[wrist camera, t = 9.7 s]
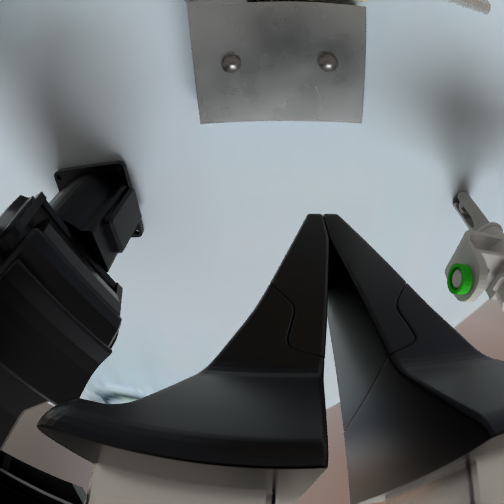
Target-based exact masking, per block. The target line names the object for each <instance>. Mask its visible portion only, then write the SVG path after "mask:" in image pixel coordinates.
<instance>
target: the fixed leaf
mask: <svg viewBox="0 0 504 504" xmlns="http://www.w3.org/2000/svg"><path fill="white" fill-rule="evenodd" d="M185 1H186V2H187V5H188V16H189V26H190V36H191V46H192V55H193V64H194V73H195V82H196V90H197V99H198V107H199V115H200V123H201V124H207V123H223V122H245V121H327V122H348V123H362V113H363V99H364V81H365V57H366V7H364V6H355V5H346V4H335V3H321V2H292V1H276V2H250V1H249V0H185ZM444 1H448V2H451V3H454V4H457V5H460V6H463V7H466V8H469V9H472V10H475V11H478V12H480V13H483V14H488V13H489V12H490V3H489V1H488V0H444Z"/></svg>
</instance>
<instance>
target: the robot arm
mask: <svg viewBox="0 0 504 504" xmlns="http://www.w3.org/2000/svg"><path fill="white" fill-rule="evenodd" d="M117 167H120V168H121V170H118V169H117ZM60 175H61V177H62V178H61V177H60ZM54 177H55V180H56V183H57V186H58V189H59V191H60V192H59V193H58V194H57V195H56V196H55V197H54V198H53V199H52V200H51V202H50V203H48V202H47V200H46V196H45V195H44V194H43V192H40V193H39V194H38V195H37V196H35V197H33V196H32V197H31V198H30V197H29V198H27V197H24V196H22V195H20V196H19V197H18V198H17V199H16V200H15V201H14V202H13V203H12V204H11V205H10V206H9V207H8V208H7V209H6V210H5V211H4V213H3V214H2V215H1V216H0V504H294V503H295V502H296V501H297V500H298V499H299V498H300V497H301V496H302V495H303V494H304V493H305V492H306V491H307V490H308V489H309V487H310V486H311V485H312V484H313V483H314V482H315V481H316V480H317V479H318V478H319V477H320V475H321V474H322V473H323V472H324V471H325V470H326V469H327V467H328V436H327V421H326V407H325V394H324V358H325V345H326V329H327V317H328V323H329V329H330V335H331V341H332V347H333V354H334V360H335V367H336V374H337V381H338V388H339V396H340V403H341V411H342V419H343V428H344V431H345V432H344V438H345V447H346V456H347V465H348V466H347V467H348V477H349V490H350V502H351V504H369V503H375V502H382V501H385V504H504V361H501V360H496V359H492V358H490V357H487V356H486V355H484V354H482V353H481V352H479V351H478V350H476V349H475V348H474V347H473V346H472V345H471V344H470V343H468V342H467V341H466V340H465V339H464V338H463V337H462V336H461V335H460V334H459V333H458V332H457V331H456V330H455V329H454V328H453V327H452V326H450V325H449V324H448V323H447V322H446V321H445V320H444V319H443V318H442V317H441V316H440V315H439V314H437V313H436V312H435V311H434V310H433V309H432V308H431V307H430V306H429V305H428V304H427V303H426V302H425V301H424V300H423V299H422V298H421V297H420V296H419V295H418V294H417V293H416V292H415V291H414V290H413V289H412V288H411V287H410V286H409V284H407V283H406V282H405V280H404V279H403V278H402V277H401V276H400V275H399V274H398V273H397V272H396V271H395V270H394V269H393V268H392V267H391V266H390V265H389V264H388V263H387V262H386V261H385V260H384V259H383V258H382V257H381V256H380V255H379V254H378V253H377V252H376V251H375V250H374V249H373V248H372V247H371V246H370V245H369V244H368V243H367V242H366V241H365V240H364V239H363V238H362V237H361V236H360V235H359V234H358V233H357V232H356V231H355V230H354V229H353V228H351V227H350V226H349V225H348V224H347V223H346V222H345V221H344V220H343V219H342V218H341V217H340V216H339V215H337V214H324V215H323V216H322V214H308V215H307V217H306V218H305V220H304V222H303V224H302V226H301V228H300V230H299V231H298V233H297V235H296V237H295V239H294V241H293V243H292V244H291V246H290V248H289V250H288V252H287V254H286V255H285V257H284V259H283V261H282V263H281V265H280V266H279V268H278V270H277V272H276V274H275V275H274V277H273V279H272V281H271V283H270V285H269V286H268V288H267V290H266V291H265V293H264V295H263V296H262V298H261V300H260V301H259V303H258V305H257V306H256V308H255V309H254V310H253V312H252V313H251V315H250V316H249V317H248V319H247V320H246V321H245V323H244V324H243V325H242V326H241V328H240V329H239V330H238V331H237V332H236V334H235V335H234V336H233V337H232V339H231V340H230V341H229V342H228V344H227V345H226V346H225V347H224V348H223V350H222V351H221V352H220V353H219V354H218V356H217V357H216V358H215V359H214V360H213V361H212V362H211V363H210V364H209V365H208V366H207V367H206V368H205V369H204V370H202V371H201V372H199V373H198V374H196V375H194V376H192V377H190V378H188V379H185V380H183V381H181V382H179V383H176V384H174V385H172V386H170V387H167V388H165V389H163V390H160V391H158V392H156V393H153V394H151V395H149V396H146V397H144V398H141V399H139V400H136V401H133V402H129V403H123V404H103V403H98V402H94V401H89V400H85V399H80V396H81V394H82V392H83V390H84V388H85V386H86V384H87V382H88V380H89V379H90V377H91V375H92V374H93V373H94V371H95V370H96V369H97V368H98V366H99V365H100V364H101V363H102V362H103V361H104V360H105V359H106V358H107V357H108V356H109V355H110V354H111V353H112V350H111V348H112V346H113V345H114V343H115V341H116V338H117V336H118V332H119V328H120V325H121V317H120V310H121V299H122V287H121V286H120V285H119V284H118V283H115V281H114V280H113V279H112V278H111V277H110V276H109V275H108V274H107V273H106V272H108V271H109V269H110V267H111V265H112V263H113V261H114V259H115V257H116V255H117V254H118V253H122V252H123V250H124V249H125V247H126V245H127V243H128V241H129V239H130V238H131V237H140V236H142V234H143V232H144V228H143V225H142V222H141V217H142V216H141V213H140V209H139V206H138V202H137V199H136V195H135V191H134V189H133V188H132V187H131V183H130V179H129V176H128V172H127V168H126V165H125V164H124V163H123V162H121V161H115V162H107V163H99V164H92V165H85V166H78V167H71V168H65V169H59V170H58V171H57V172H56V173H55V174H54ZM135 229H136V230H138V231H139V232H138V231H136V230H135ZM49 401H50V402H51V403H53V404H54V405H56V406H54V407H53V408H51V409H50V410H49V411H47V412H46V413H45V414H44V415H43V416H42V418H41V419H40V420H39V422H38V424H37V427H38V429H39V430H40V431H41V432H42V433H44V434H45V435H46V436H48V437H49V438H51V439H52V440H54V441H55V442H57V443H59V444H60V445H62V446H64V447H65V448H67V449H69V450H70V451H72V452H74V453H76V454H77V455H79V456H81V457H82V458H84V459H86V460H88V461H90V462H92V463H94V466H93V471H92V475H91V480H90V484H89V489H88V493H87V495H86V493H85V491H84V489H83V488H82V487H79V486H76V485H74V484H72V483H69V482H67V481H64V480H61V479H59V478H56V477H54V476H52V475H50V474H48V473H45V472H43V471H41V470H38V469H36V468H34V467H32V466H30V465H28V464H26V463H24V462H22V461H20V460H18V459H16V458H14V457H12V456H11V455H9V454H7V453H5V452H3V451H2V449H3V447H4V445H5V443H6V441H7V440H8V438H9V436H10V434H11V433H12V431H13V429H14V427H15V426H16V424H17V422H18V421H19V419H20V417H21V416H22V415H23V413H24V412H25V411H27V410H29V409H32V408H34V407H37V406H39V405H42V404H44V403H47V402H49Z"/></svg>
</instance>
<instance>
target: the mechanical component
mask: <svg viewBox="0 0 504 504" xmlns="http://www.w3.org/2000/svg"><path fill="white" fill-rule="evenodd" d="M457 198H458V199H459V201H460V203H454V204H453V206H454V207H455V209H456V210H457V212H458V213H459V215H460V216H461V218H462V219H463V221H464V222H465V224H466V225H467V227H468V228H469V230H468V231H466V232H465V234H464V236H463V238H462V240H461V242H460V243H459V245H458V247H457V249H456V251H455V253H454V254H453V256H452V258H451V260H450V262H449V263H448V265H447V267H446V269H445V274H446V277H447V284H448V288H449V291H450V292H451V293H452V294H454V295H455V297H456V298H457V299H458V300H459V301H465V302H473V301H475V300H476V299H478V297H479V296H480V295H481V293H482V292H483V290H486V292H487V294H488V296H489V298H490V300H498V302H499V304H500V306H501V308H502V310H503V312H504V233H503V230H502V227H501V226H500V225H499V224H498V223H495V222H491V223H489V221H488V220H487V218H486V217H485V216H484V214H483V213H482V212H481V210H480V209H479V208H478V206H477V205H476V204H475V202H474V201H473V200H472V199H471V197H470V196H469V195H468V194H467V193H466V192H459V193H458V196H457Z"/></svg>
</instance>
